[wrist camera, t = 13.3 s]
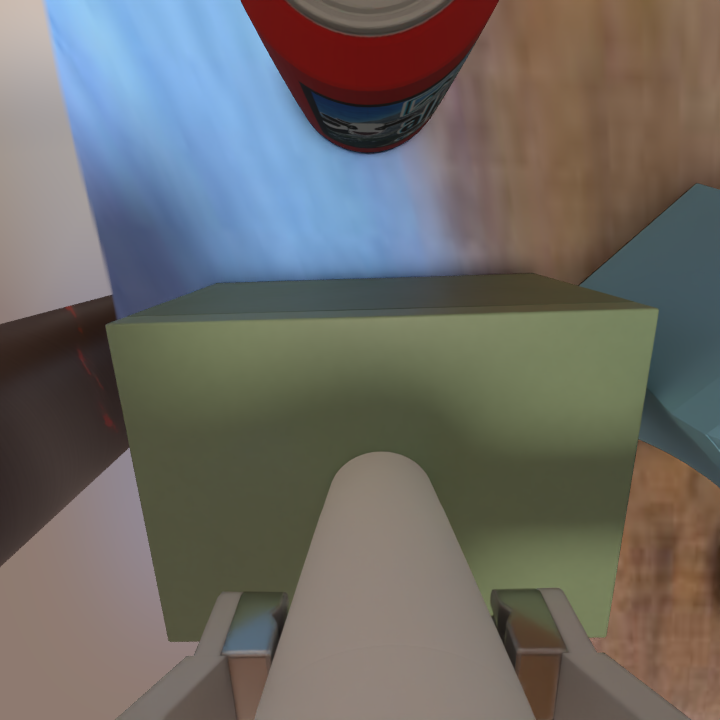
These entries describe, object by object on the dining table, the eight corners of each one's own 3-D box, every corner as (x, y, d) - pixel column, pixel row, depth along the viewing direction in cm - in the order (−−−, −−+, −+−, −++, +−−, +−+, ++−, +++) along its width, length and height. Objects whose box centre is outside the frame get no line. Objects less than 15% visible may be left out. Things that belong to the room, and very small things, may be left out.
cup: (359, 390, 13) (312, 1383, 2) (497, 480, 14) (1055, 1558, 3) (267, 514, 15) (-90, 1551, 3) (399, 590, 15) (492, 1638, 4)
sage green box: (241, 489, 26) (167, 642, 16) (216, 282, 23) (103, 324, 13) (517, 484, 26) (606, 638, 16) (534, 273, 22) (661, 308, 13)
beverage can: (366, 188, 21) (366, 142, 10) (261, 72, 20) (115, -141, 8) (476, 74, 20) (629, -140, 8) (370, -59, 18) (376, -536, 7)
